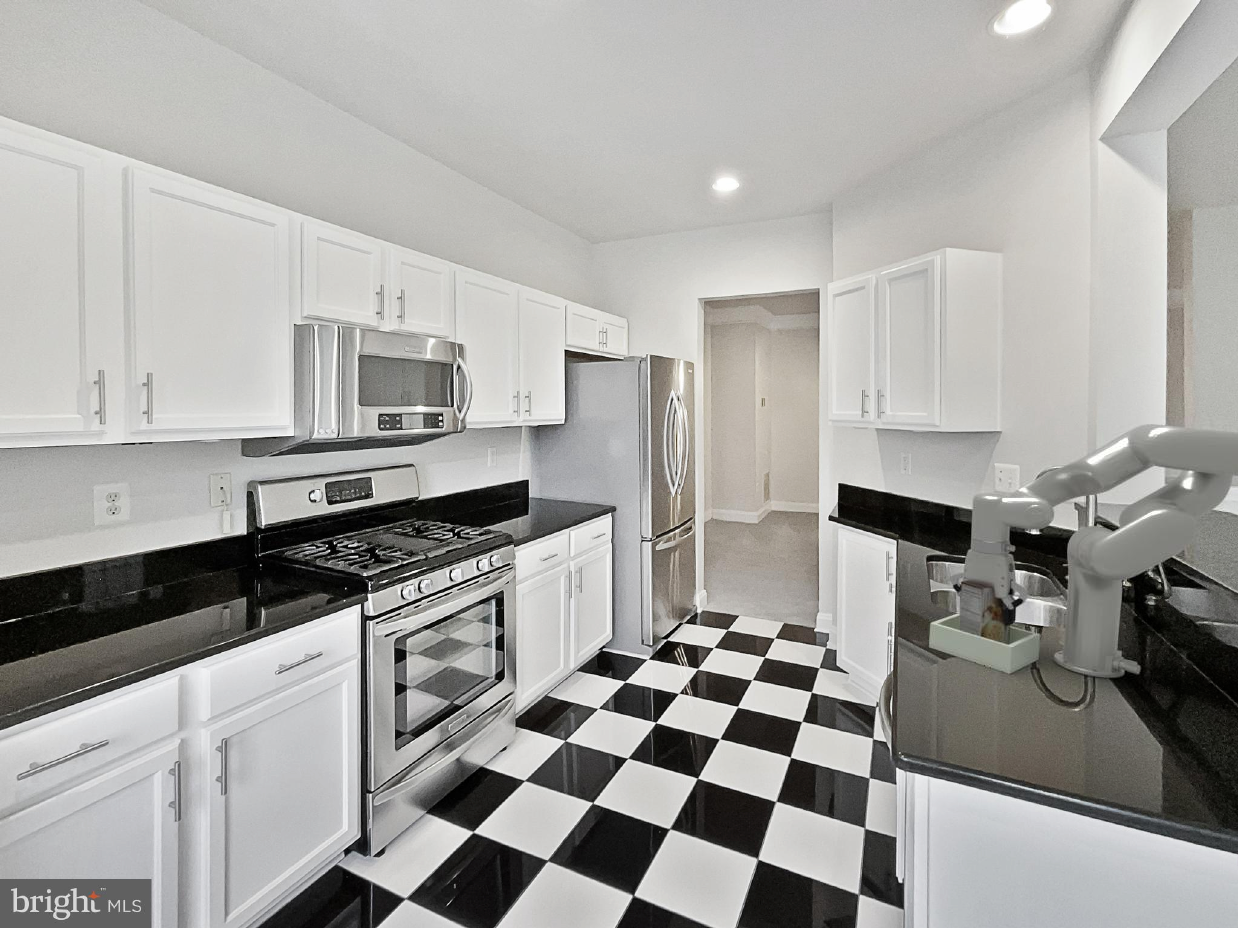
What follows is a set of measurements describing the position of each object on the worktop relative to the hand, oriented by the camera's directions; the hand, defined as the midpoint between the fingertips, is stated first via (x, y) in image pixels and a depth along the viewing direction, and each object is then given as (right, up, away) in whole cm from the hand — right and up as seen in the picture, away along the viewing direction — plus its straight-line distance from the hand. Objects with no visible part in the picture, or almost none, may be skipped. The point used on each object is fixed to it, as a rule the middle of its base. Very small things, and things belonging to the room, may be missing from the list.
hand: (986, 618), depth 146 cm
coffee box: (0, -8, +1) cm, 8 cm away
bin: (0, -8, +1) cm, 8 cm away
